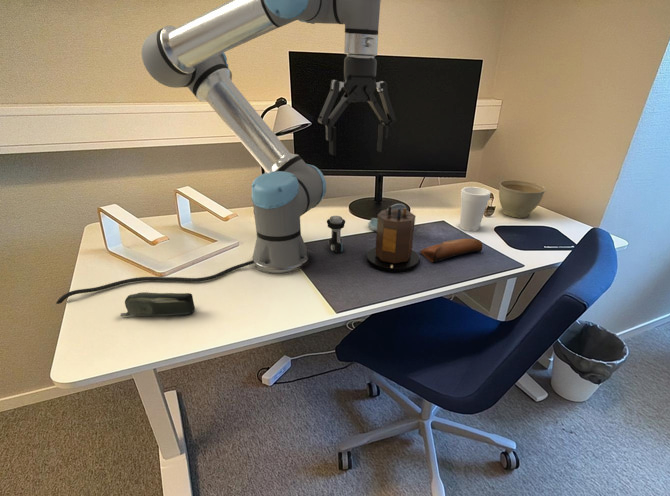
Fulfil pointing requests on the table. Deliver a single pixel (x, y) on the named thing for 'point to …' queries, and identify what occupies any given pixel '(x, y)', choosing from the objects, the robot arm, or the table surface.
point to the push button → (336, 233)
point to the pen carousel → (394, 235)
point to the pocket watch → (373, 222)
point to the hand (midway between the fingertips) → (357, 153)
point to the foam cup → (473, 207)
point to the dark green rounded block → (159, 304)
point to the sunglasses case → (451, 249)
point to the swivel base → (392, 267)
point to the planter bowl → (519, 197)
